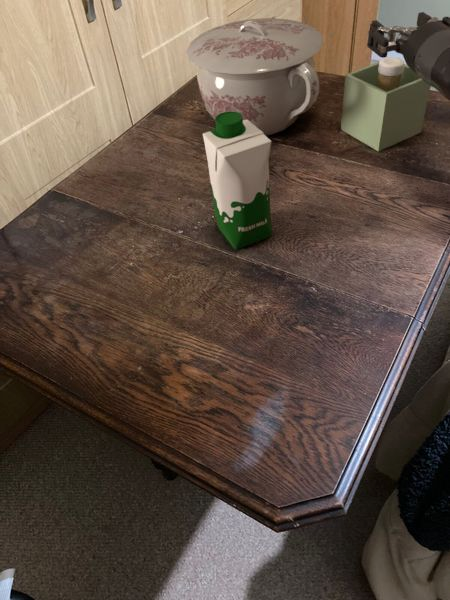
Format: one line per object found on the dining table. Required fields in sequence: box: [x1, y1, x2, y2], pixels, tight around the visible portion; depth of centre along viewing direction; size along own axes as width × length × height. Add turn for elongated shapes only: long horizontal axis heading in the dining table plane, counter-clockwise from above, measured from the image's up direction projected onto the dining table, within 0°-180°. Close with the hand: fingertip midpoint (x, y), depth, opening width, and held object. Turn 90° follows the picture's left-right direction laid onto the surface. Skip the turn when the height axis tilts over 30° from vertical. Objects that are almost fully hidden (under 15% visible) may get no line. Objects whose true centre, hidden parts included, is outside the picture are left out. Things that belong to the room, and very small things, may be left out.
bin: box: [340, 61, 432, 152], centre depth 98 cm, size 11×11×12 cm
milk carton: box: [202, 111, 273, 251], centre depth 77 cm, size 9×9×20 cm
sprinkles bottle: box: [377, 56, 405, 92], centre depth 97 cm, size 5×5×14 cm
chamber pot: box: [185, 17, 324, 137], centre depth 103 cm, size 28×28×21 cm
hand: (396, 22), depth 88 cm, fingers open, 8 cm apart
